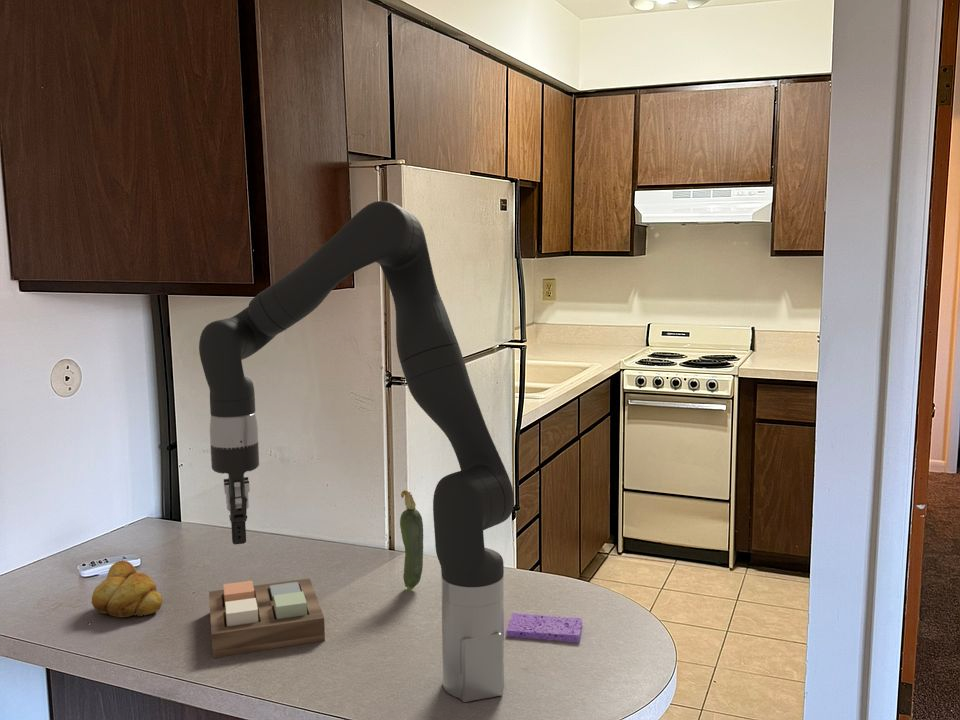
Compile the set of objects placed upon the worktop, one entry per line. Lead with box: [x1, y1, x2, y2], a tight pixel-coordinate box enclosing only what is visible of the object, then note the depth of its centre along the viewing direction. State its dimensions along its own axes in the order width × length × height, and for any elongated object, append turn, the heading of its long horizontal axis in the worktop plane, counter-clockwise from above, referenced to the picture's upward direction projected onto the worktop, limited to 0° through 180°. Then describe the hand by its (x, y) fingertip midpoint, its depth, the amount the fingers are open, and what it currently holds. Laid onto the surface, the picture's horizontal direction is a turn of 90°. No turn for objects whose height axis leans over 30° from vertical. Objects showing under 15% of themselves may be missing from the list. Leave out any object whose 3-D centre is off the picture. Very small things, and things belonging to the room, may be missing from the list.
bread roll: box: [91, 559, 163, 618], centre depth 155 cm, size 13×10×8 cm
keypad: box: [208, 578, 326, 659], centre depth 148 cm, size 18×18×4 cm
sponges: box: [505, 612, 583, 644], centre depth 146 cm, size 7×13×2 cm, turn 78°
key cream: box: [225, 598, 258, 626], centre depth 143 cm, size 5×5×3 cm
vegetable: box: [399, 489, 424, 591], centre depth 162 cm, size 4×4×20 cm
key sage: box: [274, 591, 307, 619], centre depth 145 cm, size 5×5×3 cm
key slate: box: [270, 582, 301, 601], centre depth 153 cm, size 5×5×3 cm
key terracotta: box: [222, 580, 255, 603], centre depth 150 cm, size 5×5×3 cm
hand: (239, 542), depth 141 cm, fingers closed
